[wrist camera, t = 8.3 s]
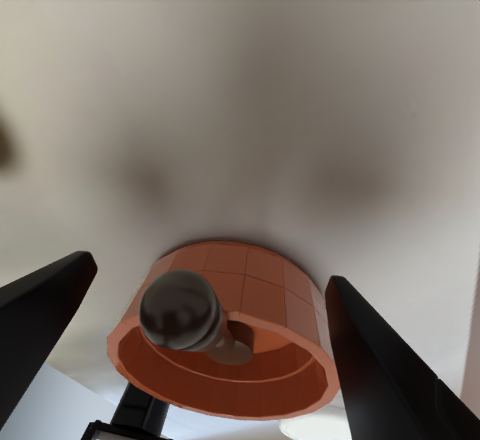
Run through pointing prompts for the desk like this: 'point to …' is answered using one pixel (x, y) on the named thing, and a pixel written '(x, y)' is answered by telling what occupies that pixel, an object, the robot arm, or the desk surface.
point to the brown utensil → (193, 319)
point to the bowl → (265, 339)
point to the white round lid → (319, 423)
